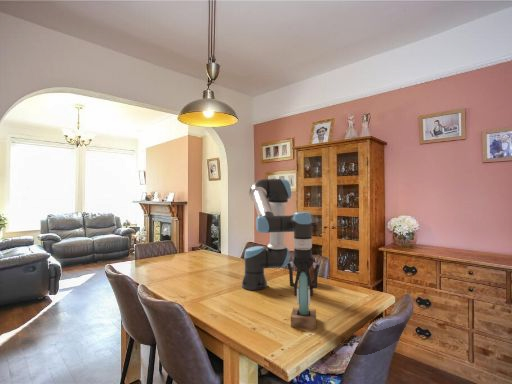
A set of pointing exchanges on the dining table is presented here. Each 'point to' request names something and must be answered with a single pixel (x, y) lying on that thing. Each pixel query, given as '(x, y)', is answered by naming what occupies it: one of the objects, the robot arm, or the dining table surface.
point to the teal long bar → (303, 294)
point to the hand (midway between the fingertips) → (303, 303)
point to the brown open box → (303, 319)
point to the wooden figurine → (311, 271)
